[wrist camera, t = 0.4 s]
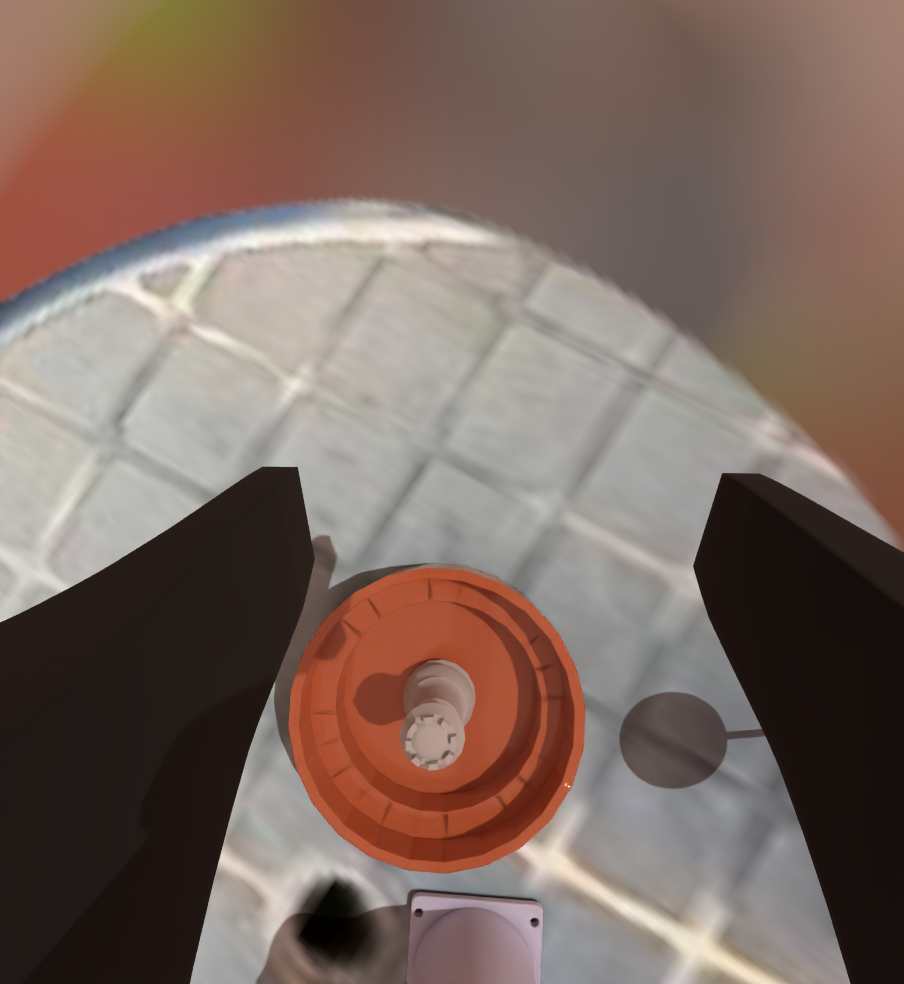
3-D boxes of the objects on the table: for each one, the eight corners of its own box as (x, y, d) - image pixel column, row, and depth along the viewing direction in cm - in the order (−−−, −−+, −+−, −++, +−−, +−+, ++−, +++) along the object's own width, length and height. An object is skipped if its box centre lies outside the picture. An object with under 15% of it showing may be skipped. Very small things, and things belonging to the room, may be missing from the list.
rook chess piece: (389, 688, 34) (366, 736, 26) (444, 642, 35) (437, 676, 27) (435, 745, 34) (424, 811, 26) (490, 699, 34) (496, 750, 26)
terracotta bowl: (563, 834, 34) (578, 884, 29) (304, 814, 34) (277, 860, 30) (574, 571, 35) (591, 577, 30) (323, 556, 36) (300, 560, 31)
